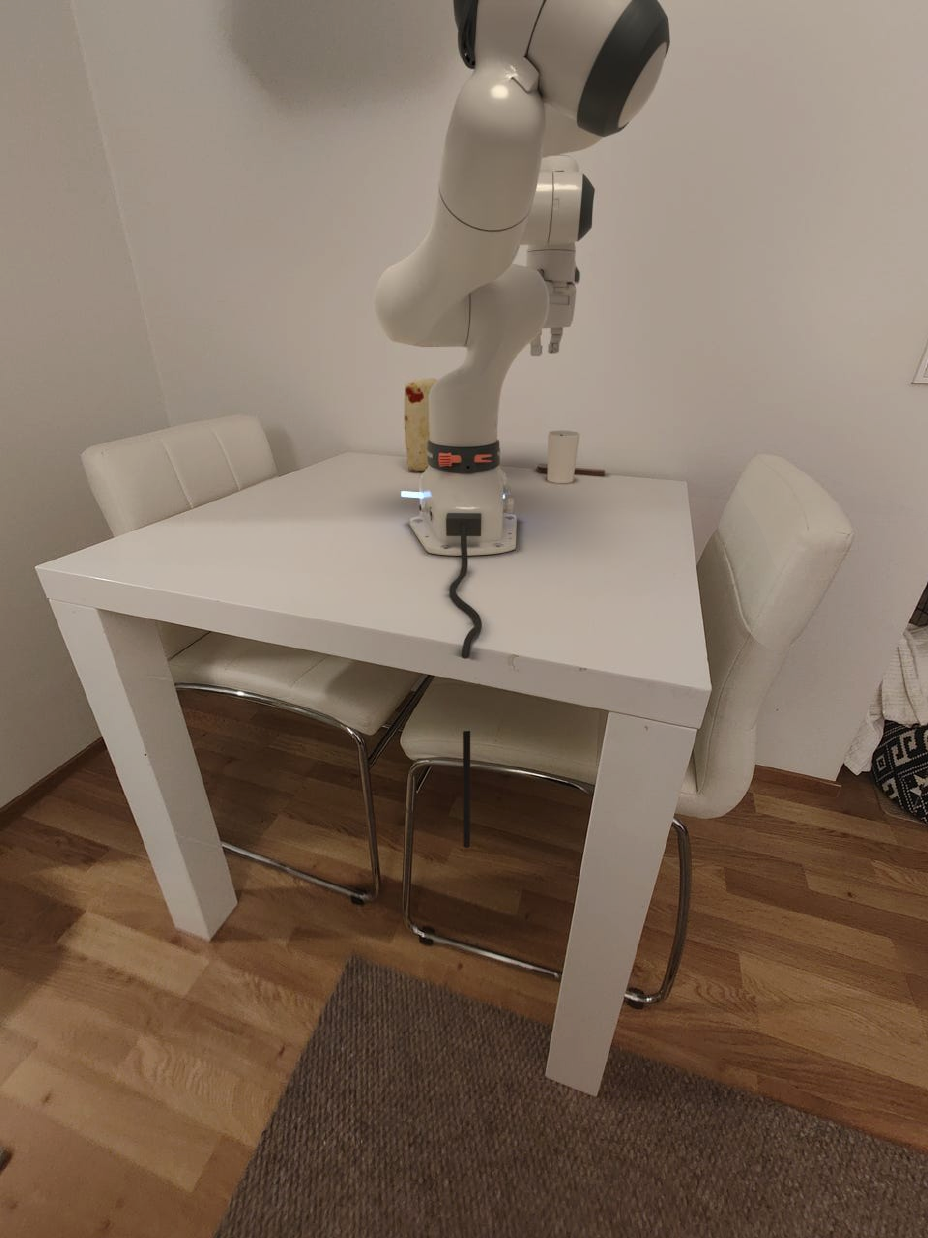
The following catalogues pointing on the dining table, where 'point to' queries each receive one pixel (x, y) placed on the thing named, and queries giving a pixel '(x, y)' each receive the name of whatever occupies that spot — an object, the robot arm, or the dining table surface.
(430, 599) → the dining table surface
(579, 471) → the wooden spoon
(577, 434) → the white cup
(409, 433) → the food model
